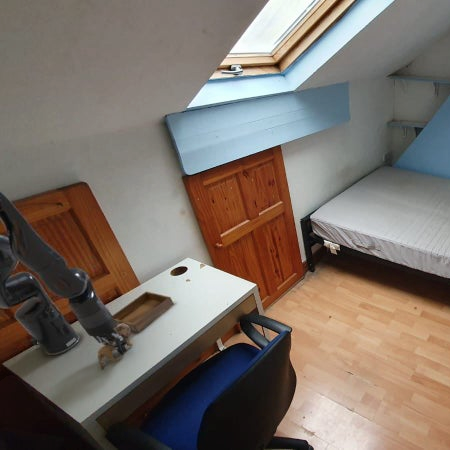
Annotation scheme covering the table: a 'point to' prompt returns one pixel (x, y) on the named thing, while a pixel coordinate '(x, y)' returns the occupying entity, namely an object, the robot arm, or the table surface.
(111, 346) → the lion figurine
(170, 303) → the brown wooden shallow box
